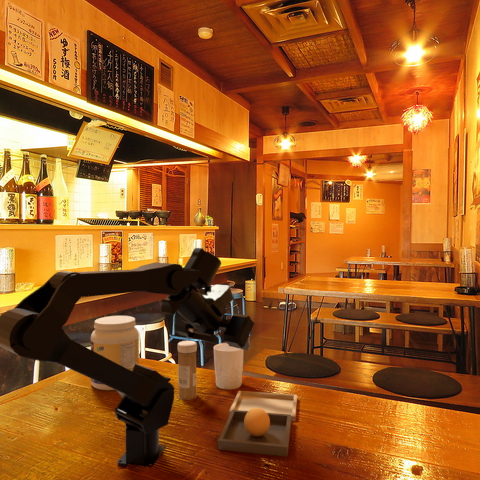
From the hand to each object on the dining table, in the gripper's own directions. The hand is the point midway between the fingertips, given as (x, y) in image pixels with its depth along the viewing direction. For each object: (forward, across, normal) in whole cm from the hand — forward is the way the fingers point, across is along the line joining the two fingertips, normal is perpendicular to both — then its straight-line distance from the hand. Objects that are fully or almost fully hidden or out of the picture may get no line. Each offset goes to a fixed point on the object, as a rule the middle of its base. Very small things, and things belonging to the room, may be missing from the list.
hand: (231, 344), depth 86 cm
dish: (+5, -12, +15) cm, 20 cm away
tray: (+13, -6, +8) cm, 16 cm away
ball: (+4, -12, +15) cm, 19 cm away
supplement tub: (+4, +34, +16) cm, 38 cm away
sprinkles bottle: (+8, +12, +12) cm, 19 cm away
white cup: (+17, +10, +4) cm, 20 cm away
